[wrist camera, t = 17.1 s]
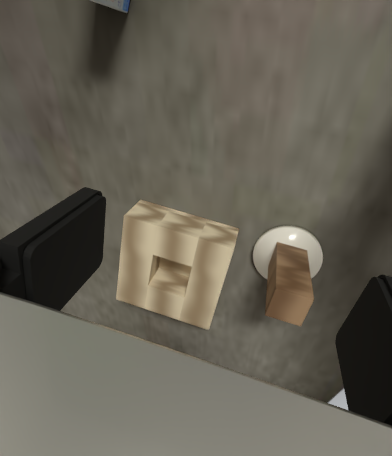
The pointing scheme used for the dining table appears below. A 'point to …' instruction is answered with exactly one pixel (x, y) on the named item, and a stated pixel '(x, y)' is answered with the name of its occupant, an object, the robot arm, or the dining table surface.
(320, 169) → the dining table surface
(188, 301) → the birch pocket block
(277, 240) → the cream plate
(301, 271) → the walnut peg
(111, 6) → the medicine box
